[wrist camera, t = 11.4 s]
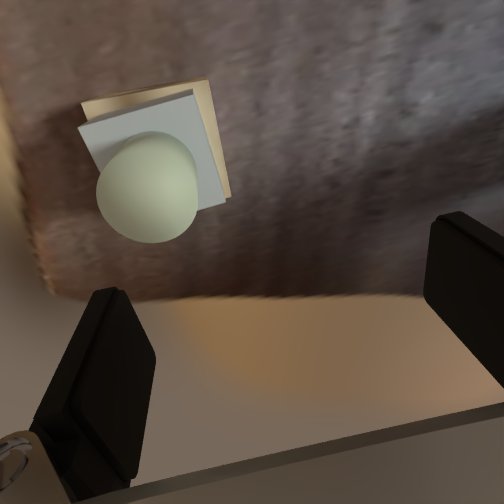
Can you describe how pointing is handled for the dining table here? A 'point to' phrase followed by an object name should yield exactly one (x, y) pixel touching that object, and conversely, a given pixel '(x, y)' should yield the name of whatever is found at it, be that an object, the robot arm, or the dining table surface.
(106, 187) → the sage cylinder
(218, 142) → the tower base
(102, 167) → the tower top
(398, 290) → the dining table surface
